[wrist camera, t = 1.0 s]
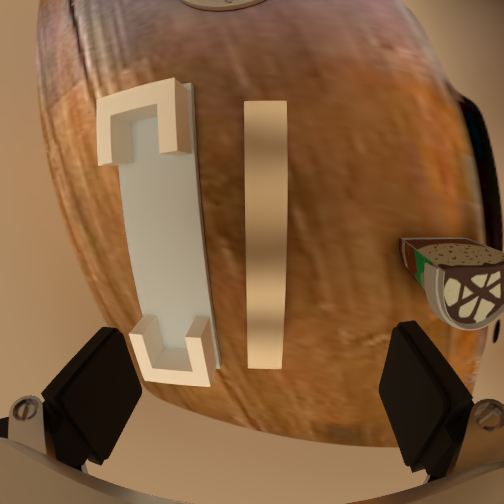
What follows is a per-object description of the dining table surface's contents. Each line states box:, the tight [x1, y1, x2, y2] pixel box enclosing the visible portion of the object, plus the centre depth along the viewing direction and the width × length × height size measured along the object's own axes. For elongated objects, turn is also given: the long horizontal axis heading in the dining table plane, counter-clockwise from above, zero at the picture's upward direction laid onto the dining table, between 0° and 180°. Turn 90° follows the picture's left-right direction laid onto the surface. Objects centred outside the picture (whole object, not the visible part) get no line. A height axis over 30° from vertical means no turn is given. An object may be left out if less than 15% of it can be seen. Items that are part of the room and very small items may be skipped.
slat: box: [244, 101, 288, 369], centre depth 23 cm, size 22×3×6 cm, turn 1°
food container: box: [399, 237, 504, 330], centre depth 21 cm, size 12×6×10 cm, turn 93°
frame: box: [97, 78, 222, 387], centre depth 24 cm, size 30×8×5 cm, turn 4°
